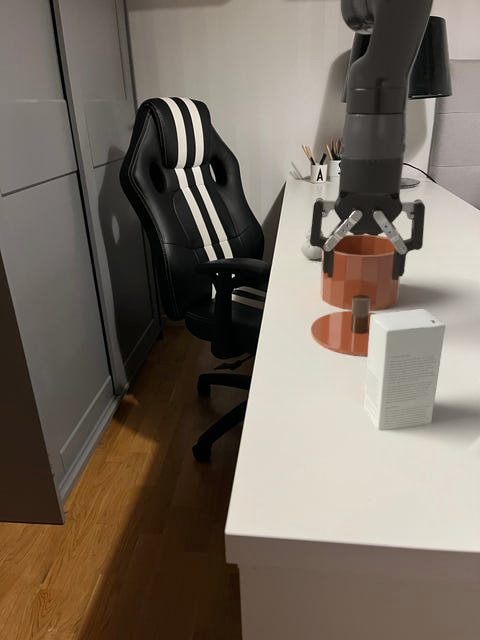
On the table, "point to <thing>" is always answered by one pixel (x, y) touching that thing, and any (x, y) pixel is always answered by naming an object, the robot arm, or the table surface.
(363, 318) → the jar lid
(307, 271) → the table surface
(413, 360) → the cosmetic box
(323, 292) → the jar
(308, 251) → the white lumpy pointed piece
